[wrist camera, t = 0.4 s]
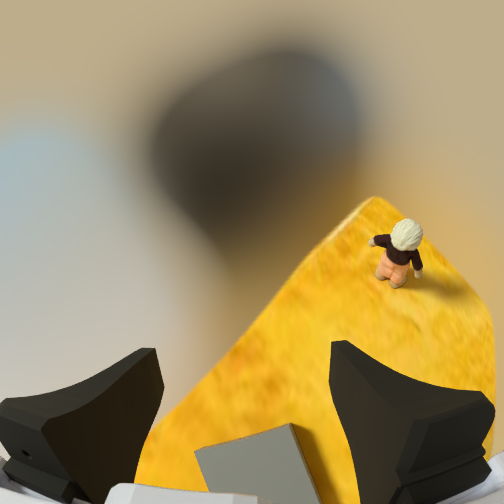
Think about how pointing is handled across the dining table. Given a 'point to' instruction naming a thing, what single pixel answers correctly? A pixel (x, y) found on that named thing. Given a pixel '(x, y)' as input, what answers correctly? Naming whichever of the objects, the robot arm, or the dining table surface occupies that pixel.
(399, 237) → the grandmother figurine
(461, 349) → the dining table surface
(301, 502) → the base plinth
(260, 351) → the dining table surface
